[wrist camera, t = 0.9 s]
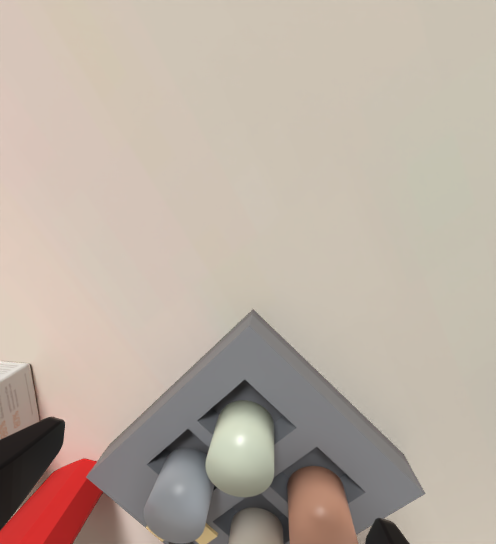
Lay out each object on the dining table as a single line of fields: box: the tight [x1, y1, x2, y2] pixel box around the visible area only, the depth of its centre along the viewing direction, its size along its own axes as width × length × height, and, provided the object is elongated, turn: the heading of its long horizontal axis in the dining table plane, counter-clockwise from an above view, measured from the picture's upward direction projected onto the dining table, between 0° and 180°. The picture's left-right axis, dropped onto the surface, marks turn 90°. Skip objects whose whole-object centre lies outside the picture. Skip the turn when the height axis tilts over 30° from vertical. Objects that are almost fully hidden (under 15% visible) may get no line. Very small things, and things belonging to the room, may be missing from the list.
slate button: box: [143, 447, 214, 544], centre depth 17 cm, size 4×4×3 cm
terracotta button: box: [287, 466, 358, 544], centre depth 17 cm, size 4×4×3 cm
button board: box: [86, 310, 425, 544], centre depth 20 cm, size 17×19×3 cm
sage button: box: [205, 400, 274, 497], centre depth 16 cm, size 4×4×3 cm
